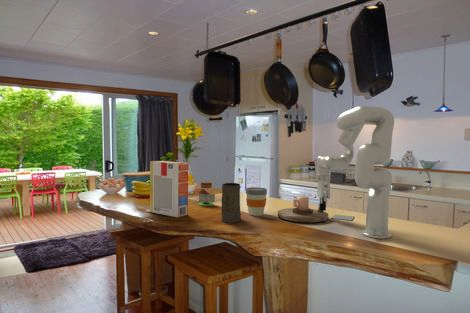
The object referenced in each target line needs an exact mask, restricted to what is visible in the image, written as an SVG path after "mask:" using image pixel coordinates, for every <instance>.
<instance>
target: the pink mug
mask: <svg viewBox="0 0 470 313" xmlns="http://www.w3.org/2000/svg"><path fill="white" fill-rule="evenodd" d="M292 200H293V204H292V205H293V207H292V208H297V210H299V211H309V206H310V205H309V203H310V202H309V201H310V196H304V195H298V196H297V197H296V199H292Z"/></svg>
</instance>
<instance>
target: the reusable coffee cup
mask: <svg viewBox="0 0 470 313" xmlns="http://www.w3.org/2000/svg"><path fill="white" fill-rule="evenodd" d="M267 191H268V189H267V188H265V187H258V186H257V187H253V186H252V187H246V188H245V194H246V198H245V202H246V206H247V214H248V215H250V216H254V217H255V216H256V217H258V216H263V215H264V213H265V207H266V204H267V194H268V192H267Z"/></svg>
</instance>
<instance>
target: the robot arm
mask: <svg viewBox="0 0 470 313" xmlns="http://www.w3.org/2000/svg"><path fill="white" fill-rule="evenodd" d="M365 125H367V126H375V127H374V129H373V131H372V134H371V141H370V142H371V143H365V144H362V145H361V146H359V148H358V149H357V152H356V155H355V148H354V144H355V143H356V141H357V139H358V137H359V136H360V133H361V132H362V130H363V128H364V126H365ZM394 126H395V117H394V114H393V113H392V112H391V110H389V109H387V108H386V107H380V106H375V105H373V106H372V105H358V106H356V107H353V108H352V109H349V110H346V111H344V112H341V113H340V114H339V116H338V117H337V120H336V127H337V129H338V130H340V133H339V134H338V136H337V142H338V143H339V144H340V145H342V146H343V147H344V150H343V152H342V153H341V155H319V156H317V158H316V181H317V185H316V186H317V188H316V192H317V193H316V194H317V195H316V196H317V197H318V198H319V204H320V207H319V210H321V211H324V212H326V210H327V200H328V199H329V200H330V199H331V184H330V183H331V182H330V181H331V171H338V170H341V171H342V170H345V169H347V168H348V167H349V166H350V164H351V162H352V161H353V159H354V155H355V165H354V166H355V169H354V180H355V183H356V185H357V187H359V188H360V189H363V190H368V189H369V190H368V192H367V194H366V209H365V211H366V212H365V214H366V215H365V229H363V230H361V234H362V236H364V237H368V238H372V239H378V240H379V239H380V240H381V239H383V240H385V239H387V240H388V239H390V238H392V233H390V232H389V215H390V214H389V210H390V208H389V207H390V194H391V193H390V192H391V189H392V188H391V187H392V183H393V175H392V172H391V171H390V170H388V169H387V168H386V167H377V166H376V165H380V166H381V165H385V164H388V163H389V162H390V160H391V155H392V144H393V143H392V142H393V132H394ZM375 166H376V167H375Z"/></svg>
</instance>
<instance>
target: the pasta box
mask: <svg viewBox="0 0 470 313" xmlns="http://www.w3.org/2000/svg"><path fill="white" fill-rule="evenodd" d="M188 208H189V162H182V161H181V162H180V161H168V160H167V161H166V160H156V161H155V160H152V161H151V160H150V161H149V213H154V214H159V215H164V216H167V217H175V218H180V217H186V216H188V215H189V209H188Z"/></svg>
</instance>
